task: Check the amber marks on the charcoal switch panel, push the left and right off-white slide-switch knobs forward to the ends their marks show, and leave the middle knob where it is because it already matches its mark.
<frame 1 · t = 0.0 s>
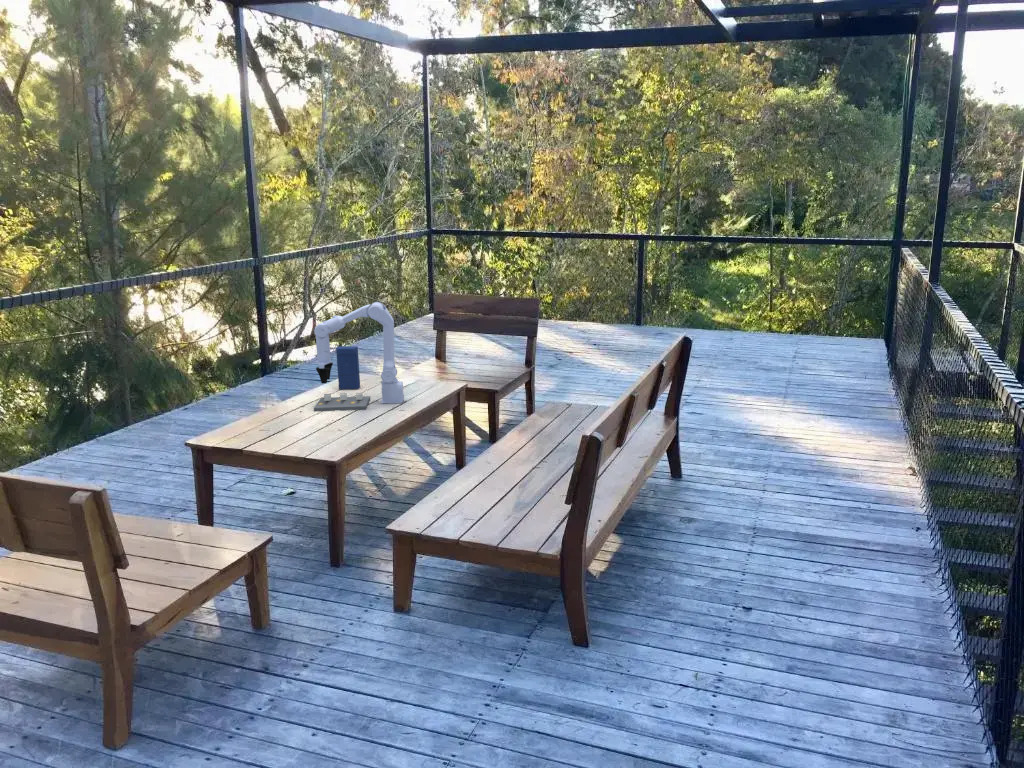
hand: (325, 381, 389), 10 cm above the table, tool pointing down, fingers open, 7 cm apart
switch 3: (327, 396, 390), point 3 cm above the table, slide at 0.0 cm
switch 1: (359, 395, 390), point 3 cm above the table, slide at 0.0 cm
electronic device: (349, 388, 419), on the table
switch 2: (343, 396, 390), point 3 cm above the table, slide at 0.0 cm
switch panel: (342, 405, 388), on the table
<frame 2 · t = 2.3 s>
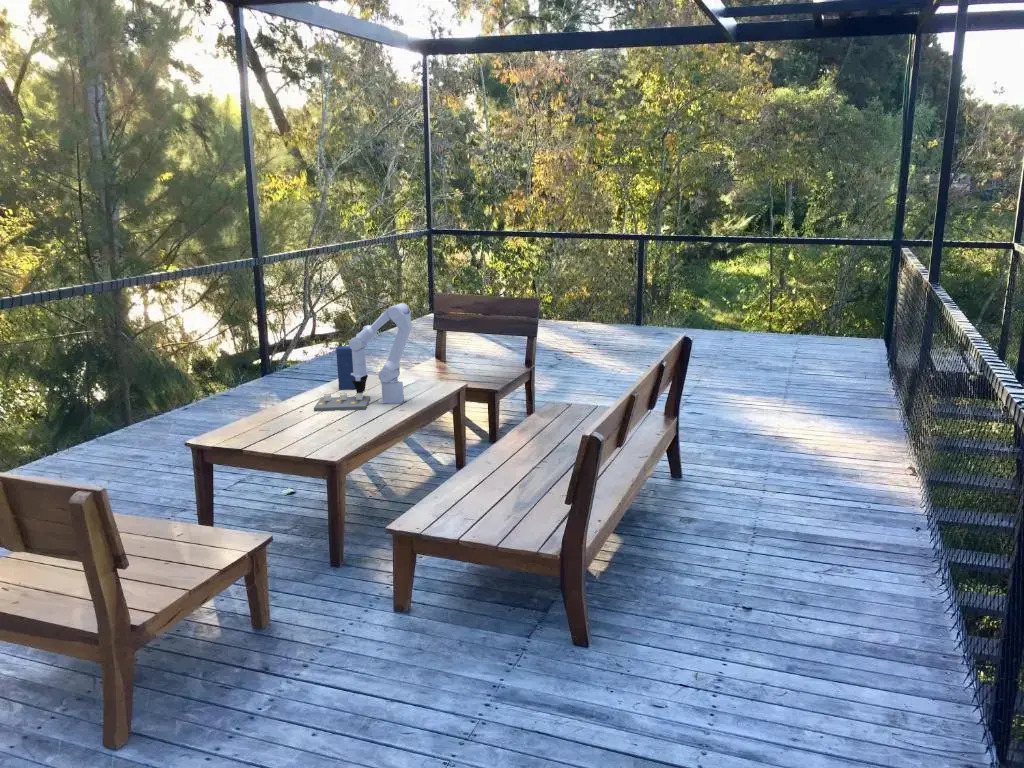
hand: (361, 393, 396), 3 cm above the table, tool pointing down, fingers open, 7 cm apart
switch 1: (359, 396, 390), point 3 cm above the table, slide at 0.2 cm, touching gripper
everything else where it was.
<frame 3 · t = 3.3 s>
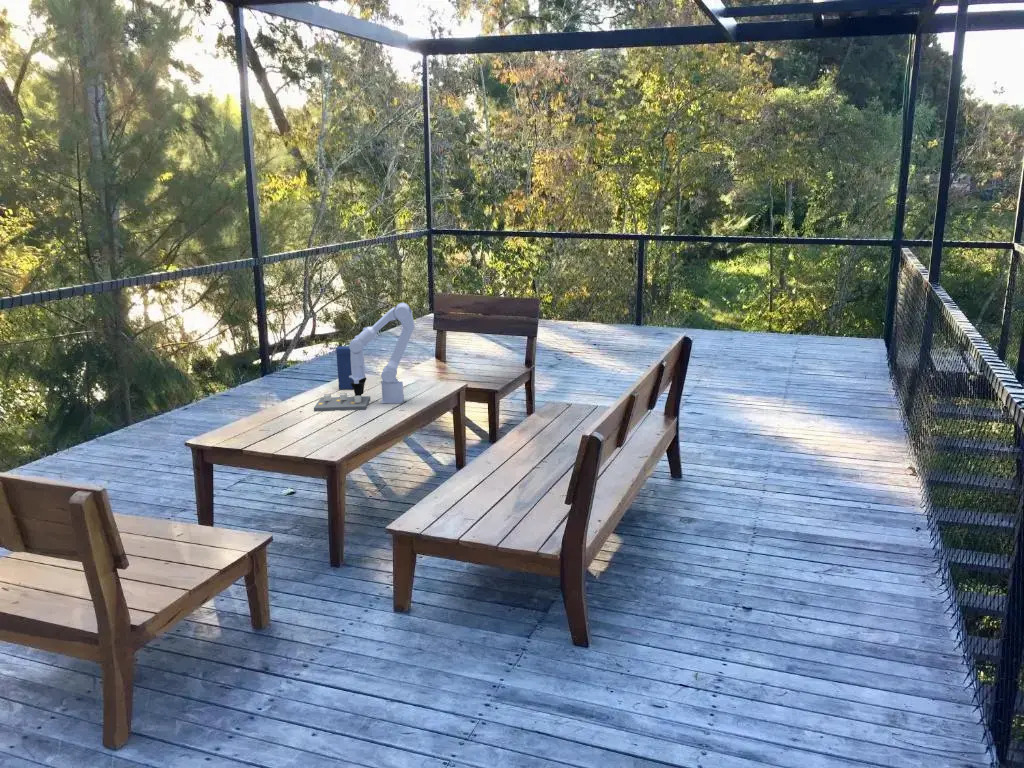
hand: (359, 396, 391), 3 cm above the table, tool pointing down, fingers open, 6 cm apart
switch 1: (357, 398, 385), point 3 cm above the table, slide at 5.1 cm, touching gripper
everything else where it was.
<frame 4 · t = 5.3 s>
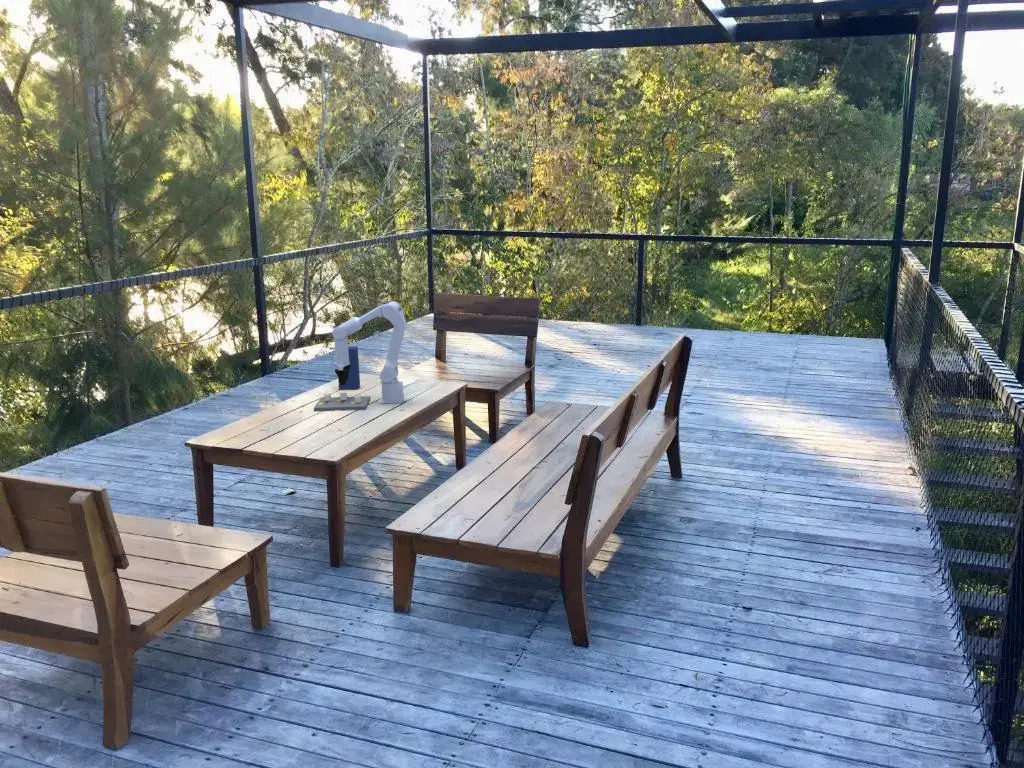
hand: (344, 382, 393), 8 cm above the table, tool pointing down, fingers open, 7 cm apart
switch 1: (357, 398, 386), point 3 cm above the table, slide at 5.0 cm
everything else where it was.
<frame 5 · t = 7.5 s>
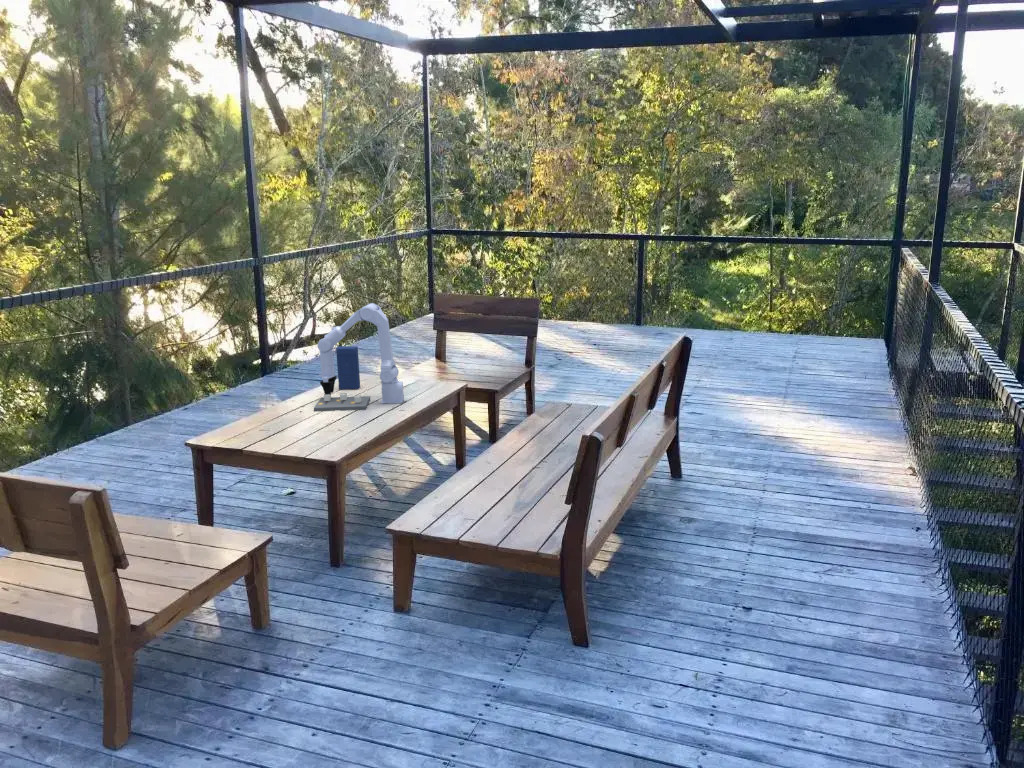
hand: (329, 394, 395), 3 cm above the table, tool pointing down, fingers open, 7 cm apart
switch 3: (327, 397, 389), point 3 cm above the table, slide at 0.7 cm, touching gripper
everything else where it was.
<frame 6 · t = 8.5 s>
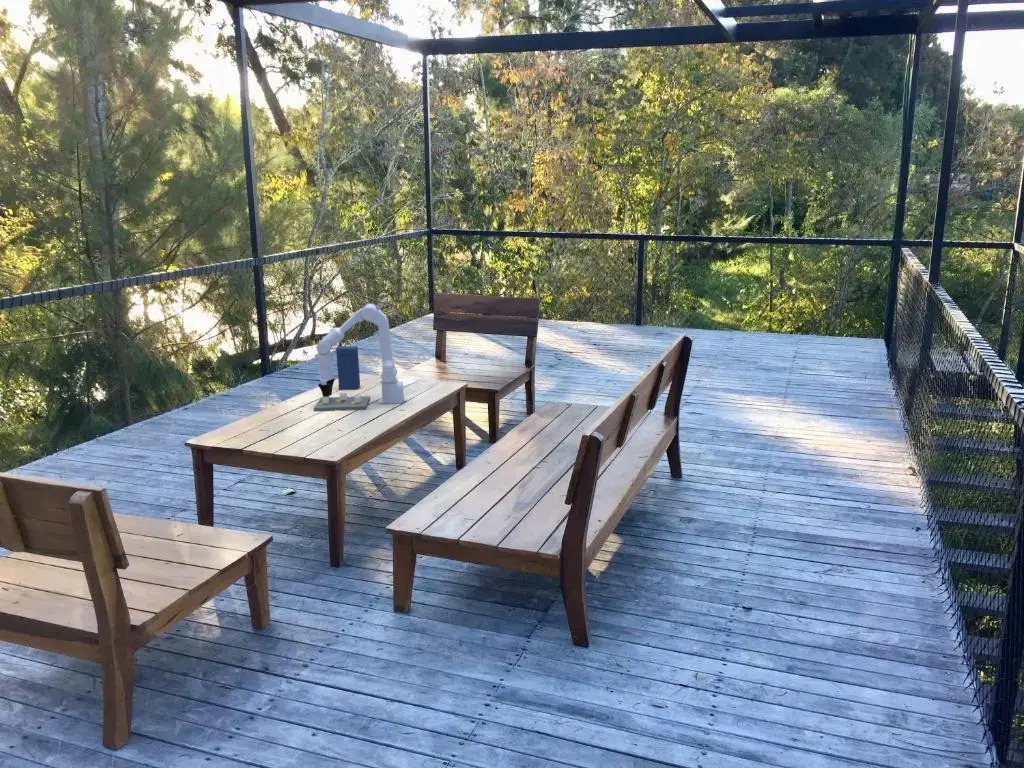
hand: (327, 397, 390), 3 cm above the table, tool pointing down, fingers open, 6 cm apart
switch 3: (325, 399, 385), point 3 cm above the table, slide at 5.1 cm, touching gripper
everything else where it was.
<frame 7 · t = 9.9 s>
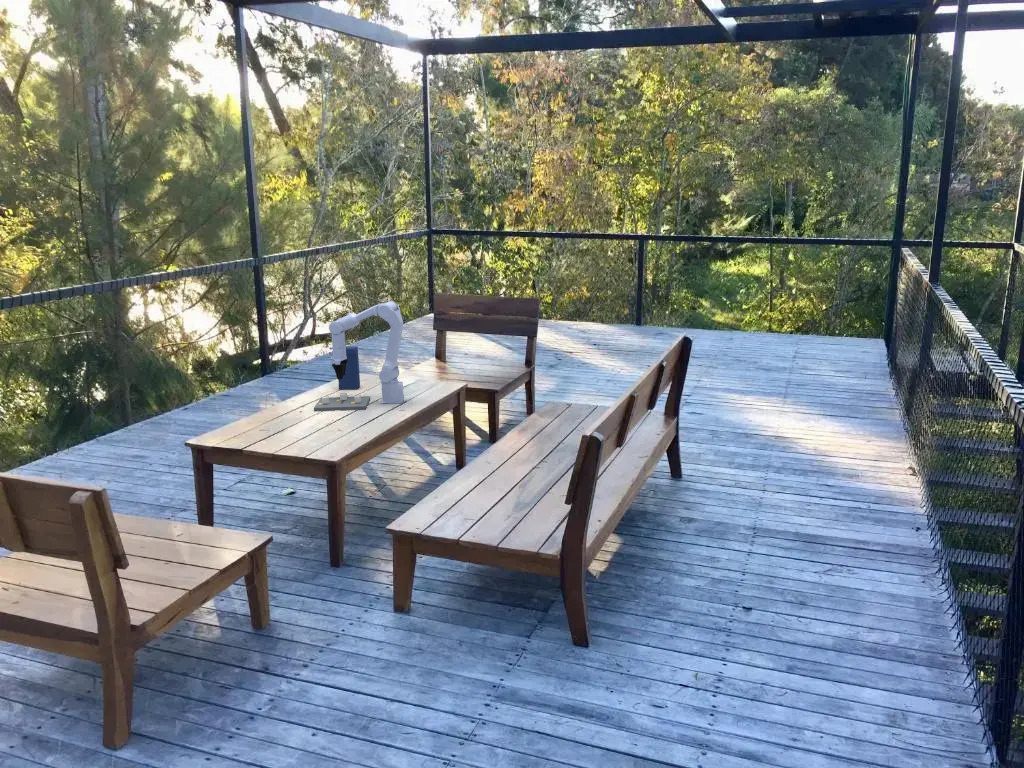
hand: (341, 377, 395), 10 cm above the table, tool pointing down, fingers open, 7 cm apart
switch 3: (325, 399, 385), point 3 cm above the table, slide at 5.0 cm
everything else where it was.
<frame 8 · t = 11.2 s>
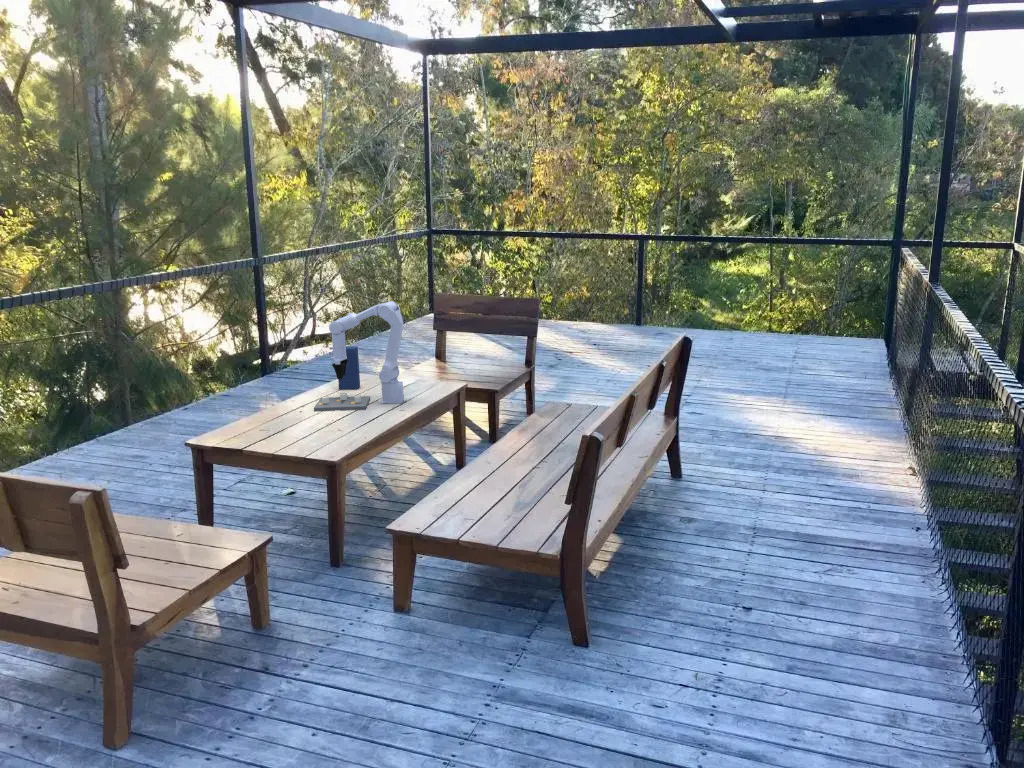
hand: (341, 377, 395), 10 cm above the table, tool pointing down, fingers open, 7 cm apart
nothing on the table moved.
at the end: switch 1 slide at 5.0 cm; switch 2 slide at 0.0 cm; switch 3 slide at 5.0 cm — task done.
